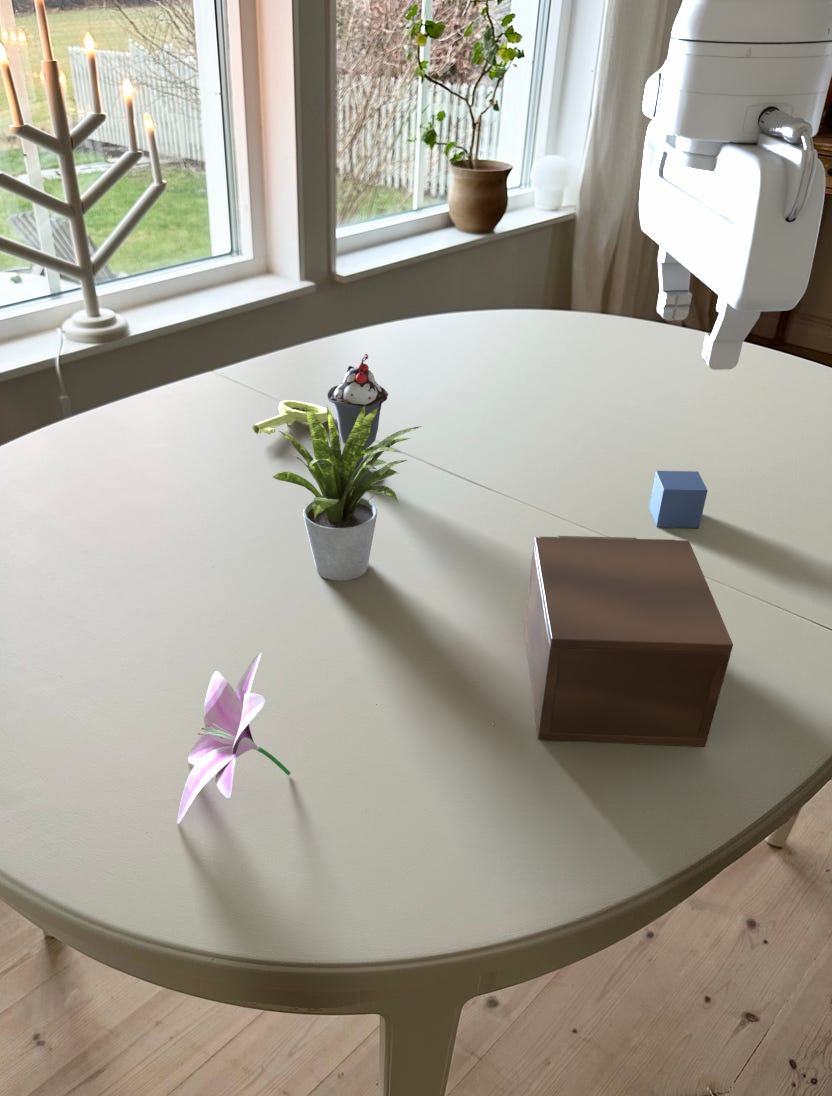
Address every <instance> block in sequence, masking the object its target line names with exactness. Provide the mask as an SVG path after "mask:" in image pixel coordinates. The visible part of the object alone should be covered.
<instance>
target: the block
mask: <svg viewBox="0 0 832 1096" xmlns="http://www.w3.org/2000/svg"><path fill="white" fill-rule="evenodd" d="M651 489H652V490H651V495H650V501H649V505H648V509H649V511H650V513H651V516H652V519H653V522H654V524H655V526H656V528H669V529H671V528H673V529H675V528H677V529H678V528H679V529H699V528H700V526H701V522H702V517H703V512H704V508H705V504H706V500H707V496H708V495H707V494H708V492H709V491H708V488H707V486H706V484H705V482H704V480H703V478H702V476H701V474H700V472H699V471H698V470H697V471H695V470H694V471H693V470H690V471H688V470H655V474H654V478H653V485H652V488H651Z"/></svg>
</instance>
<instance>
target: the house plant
mask: <svg viewBox="0 0 832 1096" xmlns="http://www.w3.org/2000/svg"><path fill="white" fill-rule="evenodd" d="M305 408H306V410H305V412H306V414H307V419H308V423H307V424H308V428H309V431H310V437H311V438H310V439H309V441H312V450H313V454H314V458H315V459H314V458H313V457H312V455H311V453H310V452H309V451H308V449H307V448H306V447H305V446H303V444H302V443H301V442H299V441H298V440H297V439H296V438H294V437H293V436H292V435H290V434H288V433H285V432H283V431H281V430H279V433H280V434H281V435H282V436H283V437H284V438H285V439H286V440H288V441H289V442H290V444H291V446H292V447H293V448H294V449H295V451H296V452H297V453H298V454H299V455H301V457H302V458H303V459H304V461H305V462H306V463H305V462H304V461H303V459H302V458H300V457H299V456H297V455H295V454H292V453H291V456H293V457H295V458H296V459H297V460H299V461H300V462H302V464H303V465H304V466H305V467H306V468H307V469H308V471H309V473H310V475H311V476H312V477H313V480H315V482H316V483H317V485H318V487H319V490H320V492H319V490H318V489H317V488H316V487H315V486H314V485H313V484H312V482H310V481H309V480H307V479H306V478H304V477H303V476H300V475H299V474H297V473H293V472H291V471H282V472H278V473H276V474H274V475H273V476H272V477H271V478H270V480H272V479H275V480H278V481H282V482H287V483H291V484H295V485H298V486H301V487H302V488H303V487H304V488H305V489H307V490H308V491H310V492H311V493H312V494H313V495H314V496H315V497H314V498H313V499H312V500H311V501H309V502H308V503H307V504H306V505H305V506H304V508H303V510H302V511H303V512H302V515H303V520H304V524H305V528H306V532H307V535H308V541H309V545H310V550H311V553H312V557H313V561H314V566H315V569H316V572H317V574H318V575H319V576H320V577H322V578H323V579H327V580H330V581H336V582H344V581H351V580H354V579H355V580H356V579H357V578H360V577H362V576H363V575H365V573H366V572H367V570H368V567H369V562H370V556H371V551H372V544H373V539H374V535H375V529H376V522H377V516H378V508H377V506H376V504H375V503H373V502H372V501H371V499H373V498H374V497H375V495H373V496H371V497H370V498H369V499H368V498H366V497H364V495H366V493H367V492H376V493H377V494H376V496H378V495H386V496H387V497H390V498H393V499H394V500H395V501H396V502H397V503H398V505H400V503H399V500H398V497H397V494H396V492H395V491H394V490H393V489H391V488H390V487H389V486H386V485H381V484H376V483H378V482H380V481H383V480H385V479H387V478H389V477H391V476H394V475H396V474H399V472H398V471H396V470H395V469H394V467H393V466H396V465H398V464H401V463H405V462H407V461H408V459H402V460H394V461H390V462H386V461H384V460H382V459H379V457H381V455H382V454H384V453H385V452H389V453H398V454H402V452H401V451H400V450H397V449H395V448H392V446H394V445H395V444H396V443H400V442H404V441H406V440H410V439H411V437H409V438H408V437H407V438H405V437H404V438H398V437H400V436H402V435H404V434H407V433H410V432H412V431H415V430H418V429H420V428H423V426H422V425H419V426H414V427H409V428H405V429H401V430H399V431H396V432H394V433H392V434H391V435H388V436H387V437H386V438H384V439H382V440H381V441H380V442H379V443H377V444H375V445H371V446H369V447H368V448H366V449H365V450H362V449H363V447H364V445H365V443H366V441H367V439H368V437H369V435H370V428H371V422H372V420H373V419H374V417H375V415H376V413H377V409H378V408H377V409H374V410H373V411H372V412H370V413H369V414H368V415H366V416H365V405H364V406H363V408H362V410H361V412H360V413H359V415H358V417H357V420H356V422H355V424H354V426H353V428H352V430H351V432H350V434H349V436H348V438H347V441H346V443H345V444H344V445H343V450H342V447H341V441H340V440H341V438H340V434H339V431H338V430H337V429H338V428H337V427H336V424H335V421H334V417H333V414H332V412H331V410H330V409H329V407H328V406H326V409H327V415H328V421H327V422H328V434H329V438H328V434H327V431H326V428H325V426H324V425H323V424H322V423H321V422H320V421H319V420H318V419H317V417H316V415H315V413H316V412H314V411H313V410H311V409H310V408H309V407H307V406H306V407H305ZM364 416H365V418H364ZM329 440H330V441H329ZM363 456H364V459H363V461H362V462H361V463H360V465H359V466H358V467H357V469H356V470H355V471H354V469H355V466H356V463H357V462H358V461H359V460H360V459H361V458H362V457H363ZM384 464H385V465H384ZM380 465H383V466H382V467H381V468H379V469H377V468H376V467H377V466H380ZM392 468H393V469H392ZM369 469H373V470H376V471H375V472H373V473H372V474H371V475H369V476H368V477H367V478H366V479H365V480H364V481H363V479H364V477H365V476H366V474H367V472H368V471H369ZM357 481H358V482H357ZM362 481H363V482H362ZM361 482H362V483H361ZM356 483H357V484H356ZM355 485H356V486H355Z"/></svg>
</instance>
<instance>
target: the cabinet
mask: <svg viewBox="0 0 832 1096" xmlns="http://www.w3.org/2000/svg"><path fill="white" fill-rule="evenodd" d="M643 539H644V538H637V539H601V538H559V537H557V536H543V537H540V536H535V537H534V539H533V548H532V557H531V564H530V565H531V566H530V574H529V583H528V592H527V602H526V610H525V619H524V629H523V630H524V631H523V632H524V639H525V641H524V642H525V648H526V656H527V664H528V671H529V672H528V673H529V680H530V688H531V697H532V703H533V711H534V719H535V727H536V735H537V740H538V741H548V742H549V741H550V742H551V741H553V742H577V743H578V742H579V743H603V744H605V743H607V744H630V745H631V744H633V745H654V746H655V745H656V746H657V745H658V746H680V747H681V746H682V747H685V746H686V747H706V746H707V742H708V738H709V735H710V732H711V728H712V724H713V720H714V717H715V713H716V710H717V705H718V702H719V698H720V695H721V691H722V687H723V684H724V680H725V676H726V673H727V668H728V665H729V661H730V658H731V653H732V651H733V647H734V644H733V641H732V638H731V636H730V634H729V631H728V629H727V627H726V625H725V622H724V620H723V618H722V615H721V613H720V610H719V608H718V606H717V603H716V601H715V599H714V596H713V594H712V591H711V589H710V587H709V585H708V582H707V580H706V576H705V574H704V573H703V571H702V568H701V565H700V563H699V560H698V558H697V556H696V554H695V551H694V549H693V546H692V545H691V542H690V540H680V539H679V540H678V539H670V540H643Z"/></svg>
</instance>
